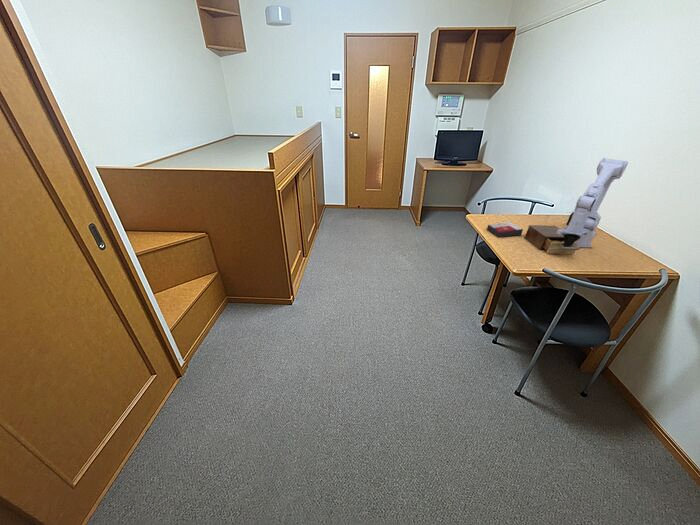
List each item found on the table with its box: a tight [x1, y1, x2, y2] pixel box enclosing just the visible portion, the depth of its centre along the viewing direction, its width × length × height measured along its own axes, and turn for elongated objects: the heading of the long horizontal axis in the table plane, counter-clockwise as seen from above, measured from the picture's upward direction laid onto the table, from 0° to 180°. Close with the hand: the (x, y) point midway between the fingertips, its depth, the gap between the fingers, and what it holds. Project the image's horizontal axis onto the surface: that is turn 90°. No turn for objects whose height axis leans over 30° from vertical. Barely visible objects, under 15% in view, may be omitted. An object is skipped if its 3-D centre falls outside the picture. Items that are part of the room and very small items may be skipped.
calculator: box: [486, 221, 524, 238], centre depth 167 cm, size 11×4×15 cm
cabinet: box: [524, 224, 564, 251], centre depth 155 cm, size 15×15×8 cm
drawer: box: [543, 238, 580, 254], centre depth 148 cm, size 18×13×6 cm
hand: (566, 247), depth 143 cm, fingers closed, pressing on drawer
